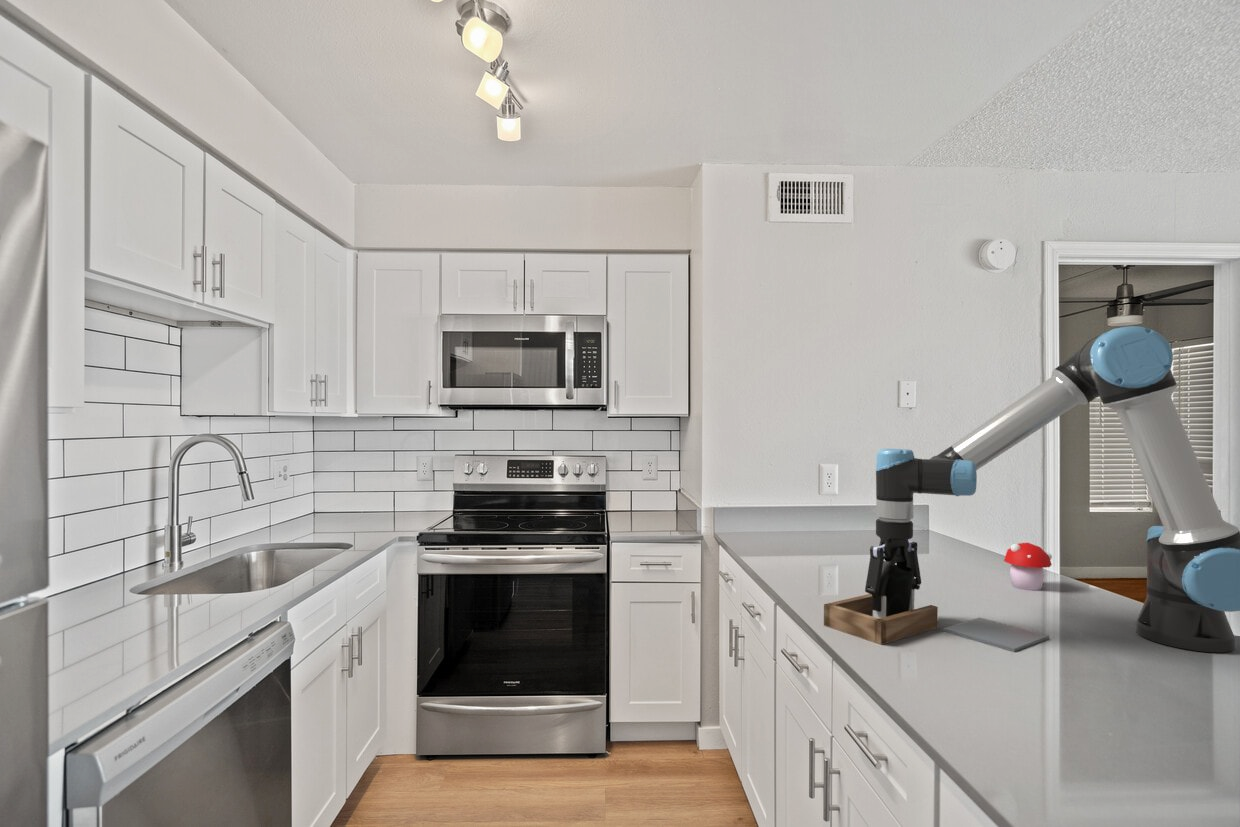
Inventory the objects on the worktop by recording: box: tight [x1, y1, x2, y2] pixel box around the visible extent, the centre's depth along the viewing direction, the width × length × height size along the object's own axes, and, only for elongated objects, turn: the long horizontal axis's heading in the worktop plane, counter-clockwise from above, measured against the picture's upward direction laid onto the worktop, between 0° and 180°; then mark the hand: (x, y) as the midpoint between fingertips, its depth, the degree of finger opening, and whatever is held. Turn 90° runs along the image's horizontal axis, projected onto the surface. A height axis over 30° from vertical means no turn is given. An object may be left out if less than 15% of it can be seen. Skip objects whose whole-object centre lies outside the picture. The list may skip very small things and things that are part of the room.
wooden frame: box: [823, 593, 939, 645], centre depth 138 cm, size 14×20×4 cm
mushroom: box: [1003, 542, 1053, 591], centre depth 171 cm, size 11×11×12 cm
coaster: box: [943, 617, 1050, 653], centre depth 133 cm, size 14×14×1 cm
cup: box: [883, 564, 913, 617], centre depth 141 cm, size 8×8×12 cm
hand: (893, 621), depth 141 cm, fingers open, 9 cm apart
